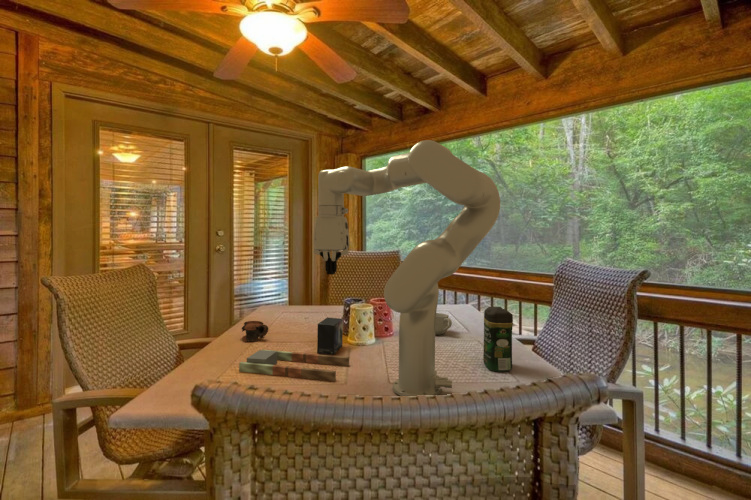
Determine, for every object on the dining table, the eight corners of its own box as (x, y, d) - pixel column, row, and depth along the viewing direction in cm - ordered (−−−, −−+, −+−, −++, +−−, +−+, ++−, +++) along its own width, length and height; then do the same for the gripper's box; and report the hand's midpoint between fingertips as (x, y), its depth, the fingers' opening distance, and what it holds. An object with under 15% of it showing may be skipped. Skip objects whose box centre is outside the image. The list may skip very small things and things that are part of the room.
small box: (334, 355, 127) (334, 324, 127) (316, 354, 129) (316, 323, 128) (343, 346, 138) (343, 317, 137) (326, 345, 139) (326, 317, 138)
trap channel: (349, 365, 118) (349, 357, 118) (334, 381, 105) (334, 372, 105) (263, 356, 125) (262, 349, 125) (239, 371, 112) (239, 363, 112)
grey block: (277, 363, 120) (277, 351, 120) (265, 372, 112) (265, 359, 112) (259, 362, 121) (259, 350, 121) (246, 371, 113) (246, 358, 113)
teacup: (417, 331, 159) (417, 312, 158) (438, 328, 163) (438, 310, 163) (436, 340, 146) (436, 319, 146) (458, 336, 151) (459, 317, 150)
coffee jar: (480, 361, 122) (481, 304, 121) (505, 362, 121) (506, 305, 121) (488, 372, 112) (489, 311, 111) (515, 373, 112) (516, 311, 111)
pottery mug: (234, 343, 142) (236, 322, 146) (250, 348, 150) (252, 327, 154) (261, 338, 139) (262, 316, 142) (276, 343, 146) (277, 322, 150)
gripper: (358, 213, 114) (358, 273, 114) (312, 213, 117) (312, 272, 118) (351, 211, 106) (351, 276, 107) (302, 212, 110) (302, 274, 111)
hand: (331, 273), depth 113 cm, fingers closed
